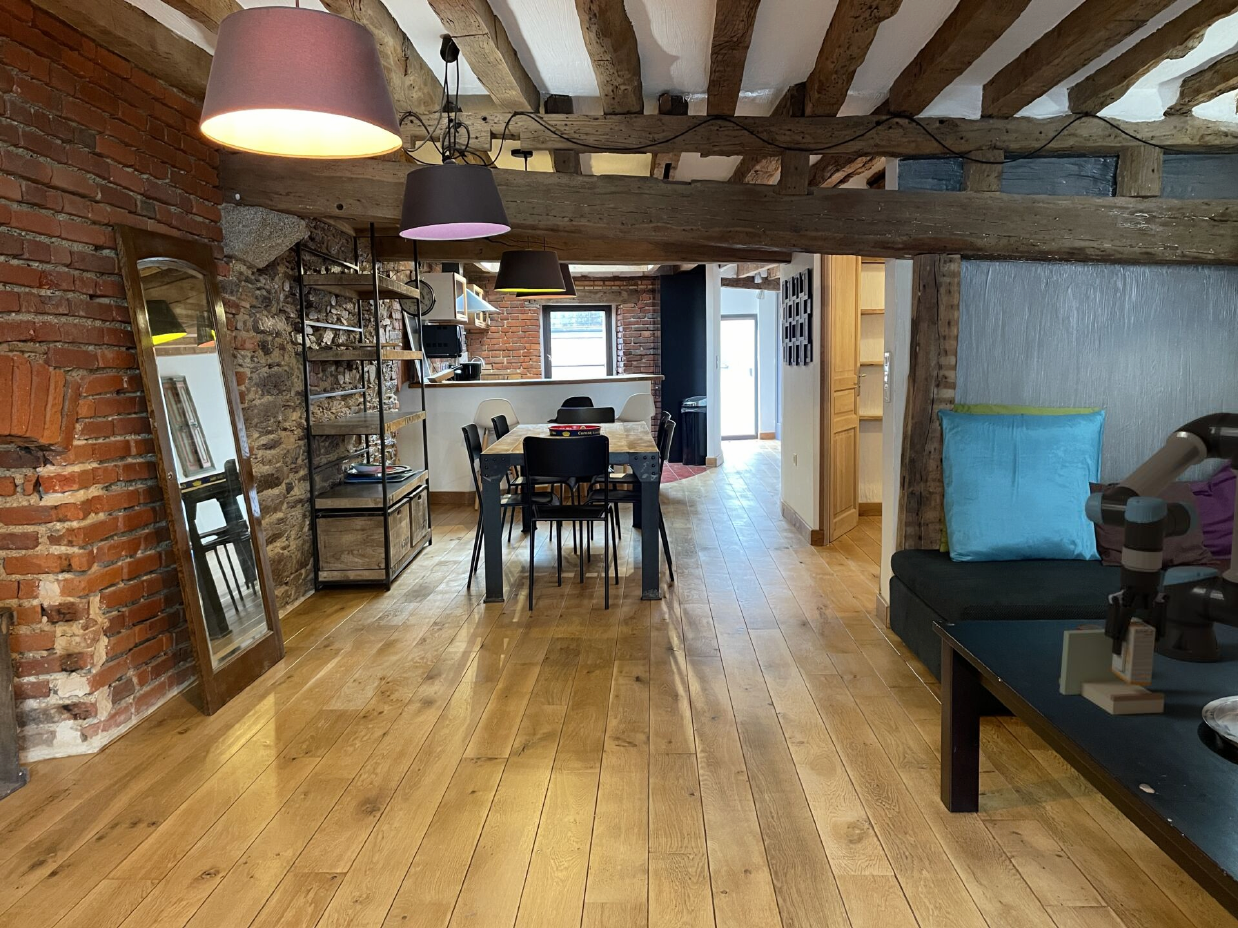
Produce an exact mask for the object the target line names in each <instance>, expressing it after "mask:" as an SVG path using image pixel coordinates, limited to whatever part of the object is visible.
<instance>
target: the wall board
mask: <svg viewBox="0 0 1238 928" xmlns="http://www.w3.org/2000/svg"><path fill="white" fill-rule="evenodd" d="M1104 632H1105V628H1103V630H1077V629H1076V630H1064V631H1063V641H1062V642H1063V645H1062V655H1061V671H1060V678H1058V684H1059V685H1060V686H1059V693H1061V694H1062V695H1064V696H1072V695H1073V696H1074V695H1081V696H1082V697H1084V698H1086V699H1087V700H1089V701H1091V702H1092V703H1094V704H1095V705H1097V706H1099V708H1102V709H1103V710H1104V711H1106V712H1107V713H1109V714H1111V715H1112V716H1113V715H1129V714H1130V715H1133V714H1134V715H1135V714H1152V713H1153V714H1154V713H1155V714H1156V713H1164V706H1165V705H1164V704H1165V697H1166V696H1165V693H1163V692H1151V691H1150V690H1148V689H1146V688H1145V687H1146V685H1130V684H1128V683H1127V682H1126V681H1124V680H1123V679H1122V678H1120V677H1119V676H1117V675H1116V674H1115V673H1113V672H1112V660H1113V653H1112V644H1113V639H1111V638H1109V637H1107V636H1105V634H1104Z"/></svg>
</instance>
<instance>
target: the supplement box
mask: <svg viewBox="0 0 1238 928" xmlns="http://www.w3.org/2000/svg"><path fill="white" fill-rule="evenodd" d="M1155 630H1156V629H1155V628H1153V627H1152V626H1150V625H1148V624H1146V623H1145V622H1143V621H1142V619H1140V618H1139V617H1134V616H1132V619H1131V622H1130V625H1129V627H1128V630H1127V633H1126V636H1125V639H1124V641H1125V642H1127V651H1126V662H1125V671H1121V670H1119V669H1117V668H1116V667H1114V666H1113V664H1114V654H1113V660H1112V672H1113V673H1115V674H1116V675H1117V676H1119V677H1120V678H1122V679H1123V680H1124V681H1126V682H1127V683H1128V684H1130V685H1145V686H1151V684H1152V674H1153V662H1154V654H1155V652H1154V642H1155ZM1153 653H1154V654H1153Z"/></svg>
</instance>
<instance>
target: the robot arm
mask: <svg viewBox="0 0 1238 928" xmlns="http://www.w3.org/2000/svg"><path fill="white" fill-rule="evenodd" d="M1208 459H1220V460H1228V461H1230V462H1229V470H1231V471H1232V472H1233V473H1234V474H1235V476H1236V485H1235V487H1236V488H1235V497H1234V514H1233V527H1232V540H1231V541H1232V542H1231V556H1230V557H1231V558H1230V568H1229V569H1227V570H1226V571H1224V572H1223V573H1222V575H1221V573H1220V570H1218V569H1216V568H1213V567H1206V566H1175V567H1172V568H1169V569H1167V570H1166V572H1165V574H1164V575H1165V576H1164V580H1163V584H1162V586H1163V589H1162V590H1163V591H1162V592H1160V591H1159V590H1158V588H1159V587H1160V584H1161V575H1162V573H1161V571H1160V569H1162V566H1163V564H1162V563H1163V554H1164V552H1163V551H1164V542H1165V539H1168V538H1173V537H1182V536H1185V535H1187V534H1191V533H1192V532H1194V530H1196V529H1197V527H1198V525H1199V521H1200V519H1199V513H1198V511H1197V510H1196V508H1195V507H1194V506H1192V505H1191V504H1189V503H1187V502H1184V501H1183V502H1182V501H1172V502H1167V501H1166V500H1165V499H1163V498H1158V495H1160V494H1161V493H1162V492H1163V491H1164V490H1166V488H1168V486H1170V485H1171V484H1172V483H1174V481H1175V480H1177V479H1178V478H1179V477H1180V476H1181V475H1182V474H1184V472H1186V471H1187V470H1188V469H1189V468H1190V467H1191V466H1196V465H1199V464H1201V463H1203V462H1204V461H1205V460H1208ZM1084 512H1085V516H1086V519H1087V520H1089V521H1090V522H1092V523H1095V524H1100V525H1103V526H1107V527H1114V528H1120V529H1123V542H1122V552H1121V564H1122V566H1121V567H1120V573H1119V582H1120V588H1119V589H1118V592H1116V593H1113V594H1112V593H1110V592H1109V593H1107V594H1106V601H1107V609H1106V617H1105V624H1104V625H1105V626H1104V629H1105V632H1104V634H1105V636H1107V637H1109V638H1111V639H1113V644H1112V653H1113V654H1114V664H1113V666H1114V667H1116V668H1117V669H1119V670H1121V671H1125V662H1126V651H1127V642H1125V641H1124V639H1125V636H1126V633H1127V630H1128V627H1129V625H1130V622H1131V619H1132V617H1134V615H1135V614H1136V613H1137V611H1138V610H1139V611H1140V617H1141V621H1143V622H1145V623H1146V624H1148V625H1150V626H1152V627H1153V628H1155V629H1156V630H1155V642H1154V653H1153V655H1154V654H1155V652H1156V653H1157V654H1160V655H1162V656H1165V657H1168V658H1172V659H1176V660H1180V661H1185V662H1194V663H1211V662H1216V661H1219V658H1220V647H1219V644H1218V640H1217V637H1216V633H1215V632H1216V631H1215V629H1214V627H1215V626H1214V625H1215V623H1217V624H1221V625H1224V626H1225V625H1226V626H1229V627H1233V628H1237V629H1238V413H1236V412H1235V413H1234V412H1226V411H1225V412H1223V411H1222V412H1216V413H1210V414H1206V415H1203V416H1201V417H1197V418H1195V419H1194V420H1190V421H1189V422H1187V423H1184V424H1183V425H1181V426H1179V427H1178V428H1177V429H1176V430H1174V431H1173V432H1172V433H1170V434H1169V436H1167V438H1166V440H1165V444H1164V445H1163V446H1162V447H1161V448H1160V449H1158V450H1157V451H1156V452H1155V453H1154V454H1153V455H1151V456H1150V457H1149V458H1148V459H1147V460H1146V461H1145V462H1144V463H1142V464H1141V465H1140V466H1138V467H1137V468H1136V469H1135V470H1134V471H1132V473H1130V474H1129V475H1128V476H1127V477H1126V478H1125V479H1123V480H1122V481H1121V482H1120V483H1119V484H1118V485H1116V486H1115V487H1114V488H1113V489H1112V490H1111V491H1109V492H1107V493H1106V492H1105V491H1103V492H1099V491H1098V492H1093V493H1091V494H1090V495H1089V496H1088V497H1087V498H1086V501H1085V504H1084ZM1220 575H1221V576H1222V577H1220Z"/></svg>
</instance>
